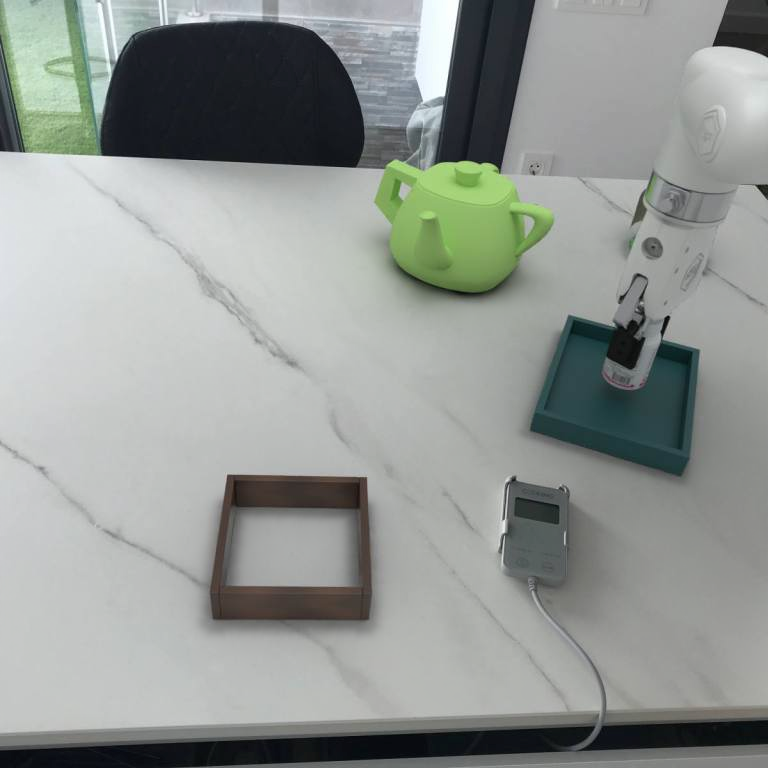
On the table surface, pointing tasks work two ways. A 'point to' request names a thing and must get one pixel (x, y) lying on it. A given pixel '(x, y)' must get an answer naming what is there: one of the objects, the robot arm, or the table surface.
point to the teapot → (458, 223)
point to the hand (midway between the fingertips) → (633, 350)
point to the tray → (619, 400)
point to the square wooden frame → (292, 598)
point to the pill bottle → (639, 374)
